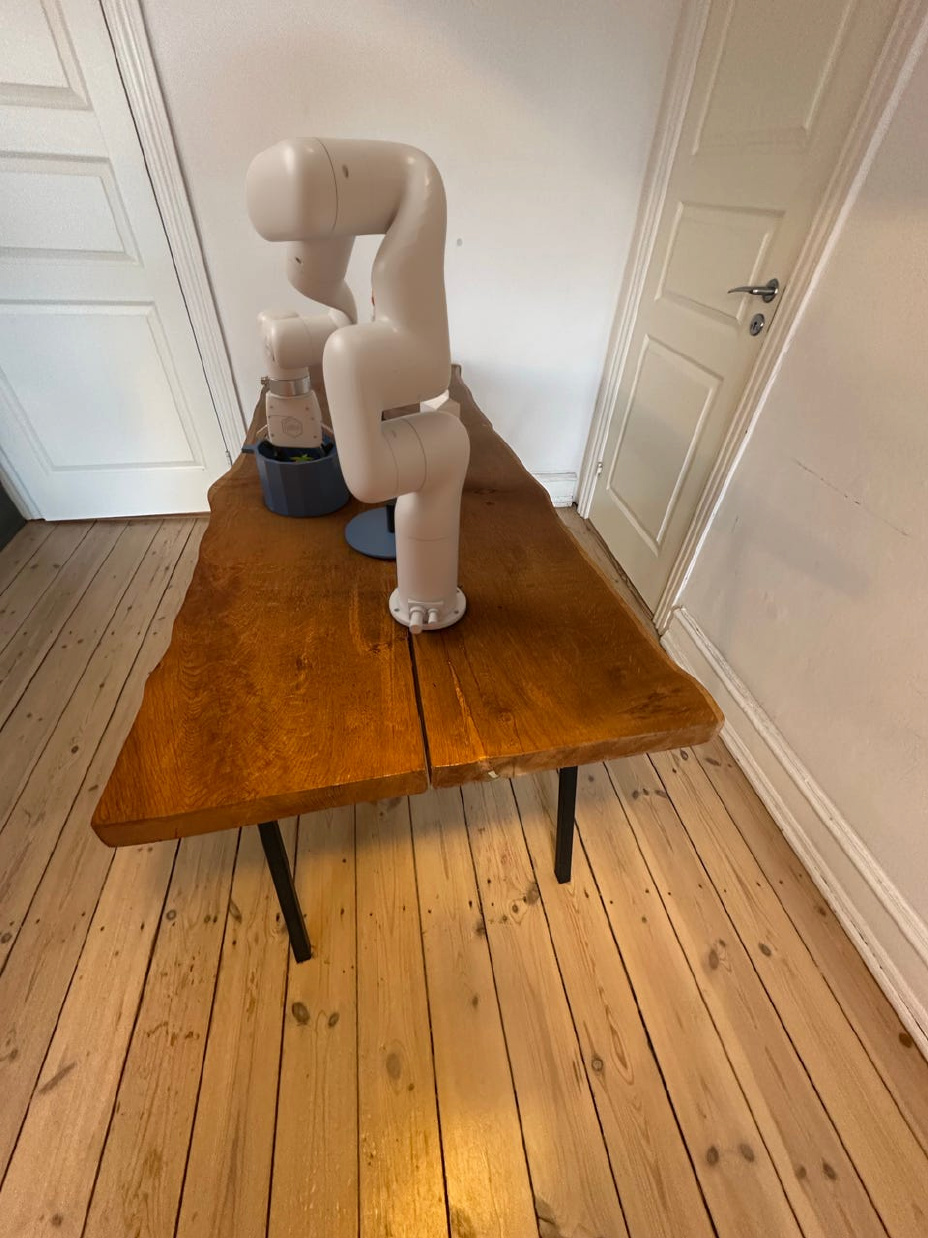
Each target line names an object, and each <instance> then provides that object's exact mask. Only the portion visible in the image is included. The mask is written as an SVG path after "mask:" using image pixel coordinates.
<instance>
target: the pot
mask: <svg viewBox="0 0 928 1238" xmlns="http://www.w3.org/2000/svg"><path fill="white" fill-rule="evenodd" d="M266 435H267V437H268V438H269V434H266ZM269 439H270V438H269ZM330 440H331V439H330V438H329V437H328V436H326V435H325V437H324V439H322V441H323V442H324V443H325V445H327V444H328V443H329V442H330ZM282 450H284V452H285V455H286V460H287V462H279V461H276V458H275V456H274V455H273V454H272V452H271V451H270V450H268V449H267V448H266V447H265V446H264V444H263V443H262V442H261V441H260V440H259V439H258V440H257V442H255V444H253V443H252V444H249V443H245V444H244V445H243V446H242V447H241V453H242V454H248V455H249V454H250V455H254V458H255V463H256V467H257V472H258V477H259V481H260V485H261V489H262V494H263V498H264V503H265V505H266V507H267V508H268V509H269V510H270V511H271V512H273V513H276V514H278V515H281V516H285V517H289V518H313V517H319V516H324V515H328V514H330V513H333V512H335V511H337V510H339V509H341V508H342V507H344V506H345V505H346V504H347V502H348V501H349V499H350V494H351V492H350V490H349V488H348V486H347V484H346V482H345V479H344V476H343V473H342V469H341V465H340V461H339V456H338V451H337V446H336V445H335V446H334V448H333V449H332V450H331V451H330V453H329V454H328V455H327V457H324V458H321V459H318V458H319V454H318V452H317V451H316V450H315V448H291V447H282ZM297 450H298V451H297ZM300 452H301V453H302V454H303V456H304V455H306V454H307V456H306V457H309V458H314V459H312V460H313V461H307V462H299V463H294V461H295V460H293V459H289V458H295V457H298V458H302V454H301V453H300Z"/></svg>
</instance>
